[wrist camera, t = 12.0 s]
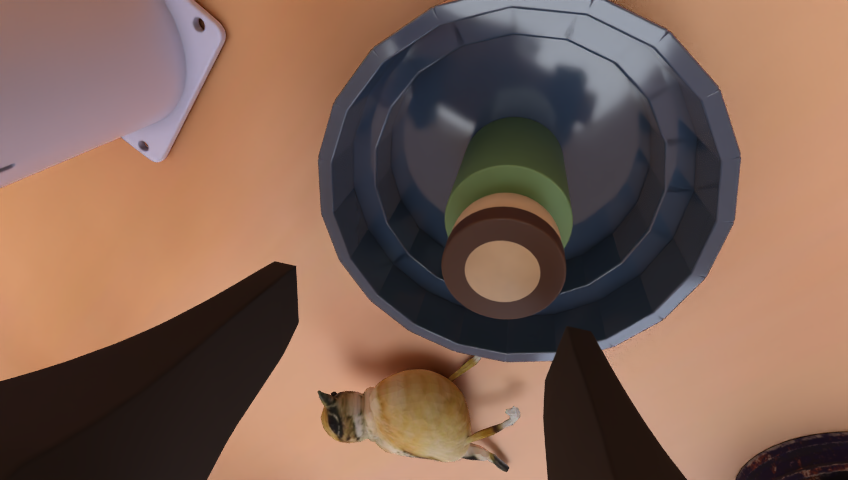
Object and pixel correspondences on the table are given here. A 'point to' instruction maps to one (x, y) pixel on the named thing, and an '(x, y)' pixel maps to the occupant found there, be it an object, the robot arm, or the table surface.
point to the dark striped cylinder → (802, 460)
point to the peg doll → (508, 221)
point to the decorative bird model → (412, 417)
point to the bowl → (583, 157)
